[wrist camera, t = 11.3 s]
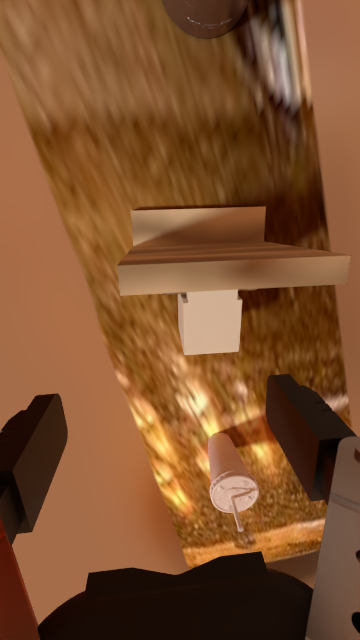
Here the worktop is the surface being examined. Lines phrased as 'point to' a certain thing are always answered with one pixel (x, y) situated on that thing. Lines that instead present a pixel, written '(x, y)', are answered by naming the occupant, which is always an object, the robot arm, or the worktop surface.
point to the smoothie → (230, 478)
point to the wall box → (210, 321)
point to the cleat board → (218, 254)
